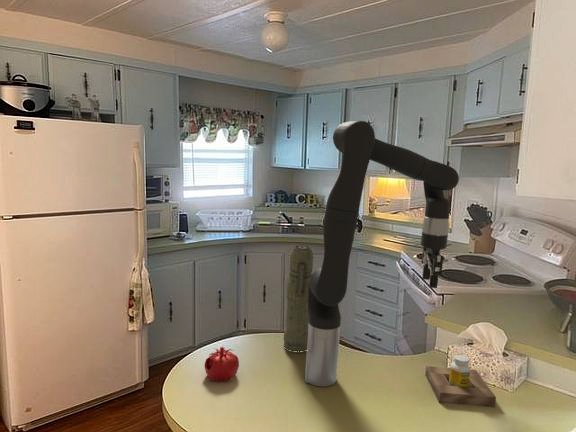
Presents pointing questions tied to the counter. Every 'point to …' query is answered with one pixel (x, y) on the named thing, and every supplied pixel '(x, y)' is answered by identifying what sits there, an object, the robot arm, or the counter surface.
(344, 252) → the robot arm
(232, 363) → the pomegranate
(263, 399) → the counter surface
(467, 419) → the counter surface
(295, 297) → the thermos
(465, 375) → the supplement bottle
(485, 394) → the walnut holder
